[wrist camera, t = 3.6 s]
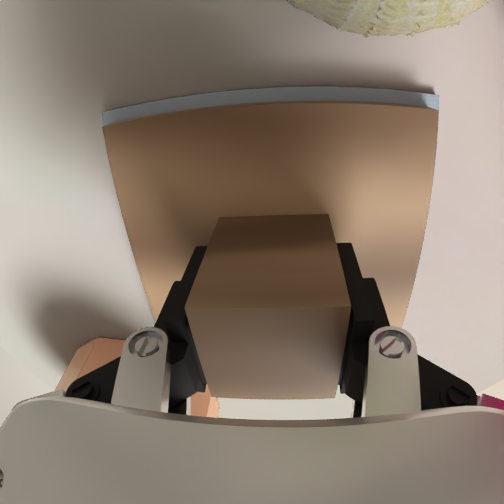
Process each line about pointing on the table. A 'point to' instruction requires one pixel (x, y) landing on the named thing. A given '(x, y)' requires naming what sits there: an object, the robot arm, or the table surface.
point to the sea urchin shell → (389, 14)
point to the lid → (275, 227)
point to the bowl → (110, 349)
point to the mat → (272, 99)
